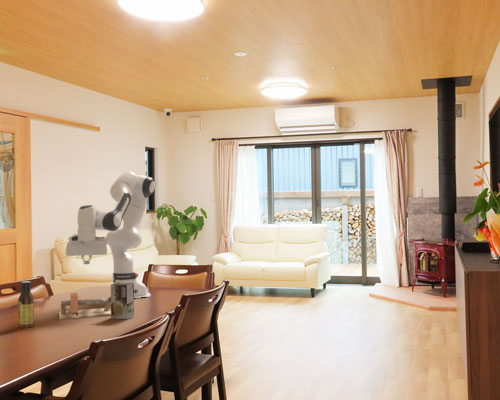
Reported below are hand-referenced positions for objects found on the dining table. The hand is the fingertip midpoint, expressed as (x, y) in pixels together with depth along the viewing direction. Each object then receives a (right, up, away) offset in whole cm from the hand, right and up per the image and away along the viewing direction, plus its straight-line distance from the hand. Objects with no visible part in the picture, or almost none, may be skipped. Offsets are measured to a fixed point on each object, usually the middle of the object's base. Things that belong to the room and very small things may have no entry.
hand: (86, 264), depth 272 cm
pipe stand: (+3, -23, -12) cm, 26 cm away
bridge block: (-2, -21, -14) cm, 25 cm away
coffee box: (+23, -23, -19) cm, 38 cm away
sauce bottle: (-15, -23, -38) cm, 47 cm away
